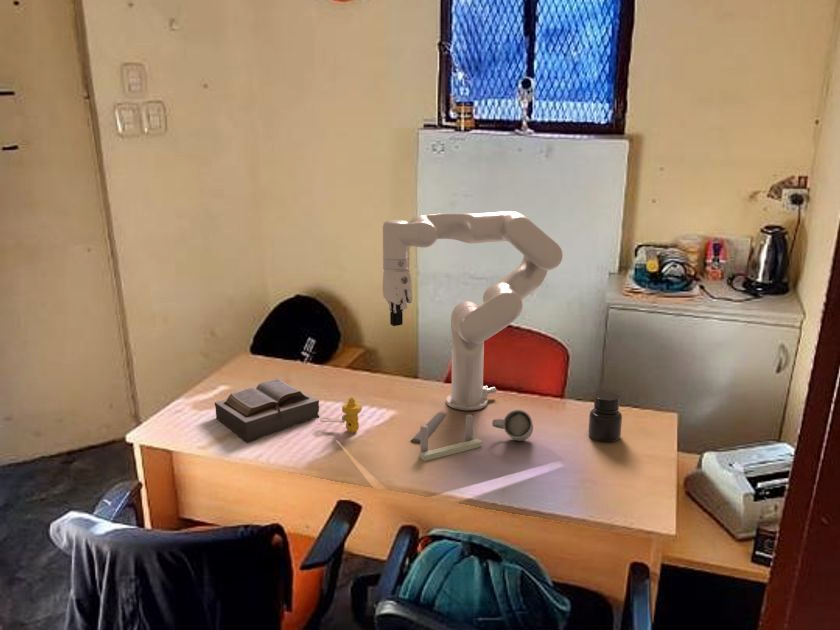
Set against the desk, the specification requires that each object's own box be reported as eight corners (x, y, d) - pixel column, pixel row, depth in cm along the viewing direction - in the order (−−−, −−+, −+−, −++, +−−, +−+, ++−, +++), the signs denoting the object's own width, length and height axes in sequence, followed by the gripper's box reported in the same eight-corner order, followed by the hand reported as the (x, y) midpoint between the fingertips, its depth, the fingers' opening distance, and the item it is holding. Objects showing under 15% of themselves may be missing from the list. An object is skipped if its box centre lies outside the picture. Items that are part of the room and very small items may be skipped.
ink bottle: (623, 431, 223) (626, 391, 219) (621, 444, 215) (624, 403, 211) (588, 426, 226) (590, 387, 222) (584, 439, 218) (587, 399, 214)
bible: (326, 426, 227) (325, 395, 224) (234, 447, 214) (231, 413, 211) (297, 399, 246) (296, 369, 243) (211, 416, 234) (209, 385, 231)
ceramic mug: (525, 446, 217) (539, 422, 218) (522, 443, 209) (537, 418, 210) (492, 427, 220) (506, 403, 221) (488, 423, 213) (502, 398, 214)
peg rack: (473, 440, 217) (473, 413, 215) (481, 446, 213) (482, 419, 211) (415, 454, 209) (415, 426, 207) (423, 461, 205) (424, 433, 203)
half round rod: (409, 443, 217) (409, 437, 216) (435, 416, 234) (435, 410, 233) (423, 445, 215) (423, 440, 215) (448, 418, 232) (448, 413, 232)
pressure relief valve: (358, 436, 220) (357, 403, 217) (317, 432, 222) (316, 399, 219) (363, 428, 225) (363, 395, 222) (323, 424, 227) (322, 392, 224)
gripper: (420, 267, 220) (420, 329, 225) (395, 257, 232) (395, 316, 237) (397, 270, 216) (397, 333, 221) (372, 259, 228) (373, 320, 234)
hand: (396, 324), depth 229 cm, fingers closed
